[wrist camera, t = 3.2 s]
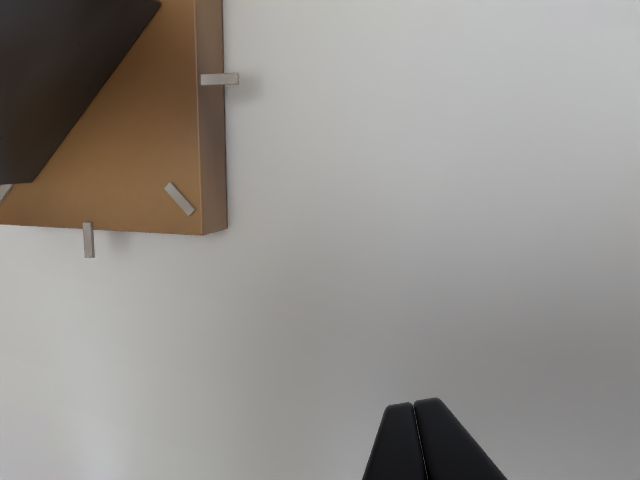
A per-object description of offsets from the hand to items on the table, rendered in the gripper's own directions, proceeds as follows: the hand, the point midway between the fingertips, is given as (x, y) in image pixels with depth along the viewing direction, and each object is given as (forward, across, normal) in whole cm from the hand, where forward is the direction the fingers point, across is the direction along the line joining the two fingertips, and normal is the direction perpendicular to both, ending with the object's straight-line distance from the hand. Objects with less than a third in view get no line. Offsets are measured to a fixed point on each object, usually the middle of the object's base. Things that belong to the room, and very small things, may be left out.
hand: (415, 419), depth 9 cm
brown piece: (+17, +10, -3) cm, 19 cm away
